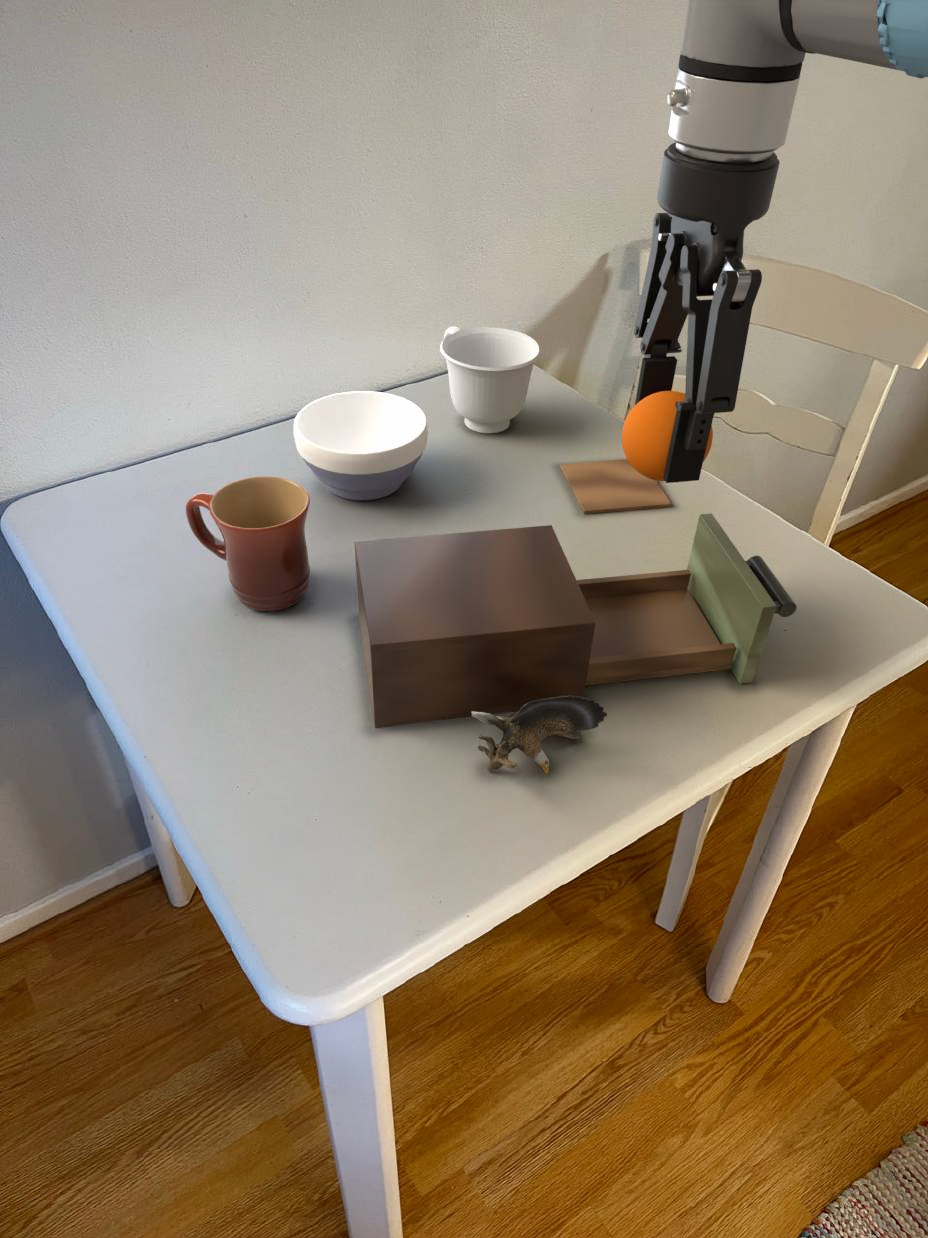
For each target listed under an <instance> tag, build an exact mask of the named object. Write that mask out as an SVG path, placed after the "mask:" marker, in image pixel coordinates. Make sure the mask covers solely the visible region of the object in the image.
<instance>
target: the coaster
mask: <svg viewBox="0 0 928 1238" xmlns="http://www.w3.org/2000/svg"><path fill="white" fill-rule="evenodd" d="M559 467H560V469H561V471H562V473H563V476H564V477H565V479H566V481H567V483H568V485H569V486H570V489H571V491H572V493H573V495H574V496H575V497H574V498H576V501H577V502H578V504H579V506H580V508H581V510H582V512H583V514H584V515H587V514H599V513H611V512H620V511H621V512H623V511H624V512H625V511H634V510H635V511H637V510H647V509H659V508H671V507H672V502H671V501H670V499H669V497H668V496H667V495H666V493H665V491H664V490H663V488H662V487H661V486H660V484H659V481H656V480H652V479H649V478H647V477H645V476H643V475H641V474H640V473H639V472H637V471H636V470H635V469H634V468H633V467H632V466H631V464H630V463H629V461H628V460H627V458H626V459H625V458H624V459H612V460H599V461H584V462H583V461H582V462H573V463H571V462H569V463H560V465H559Z"/></svg>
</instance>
